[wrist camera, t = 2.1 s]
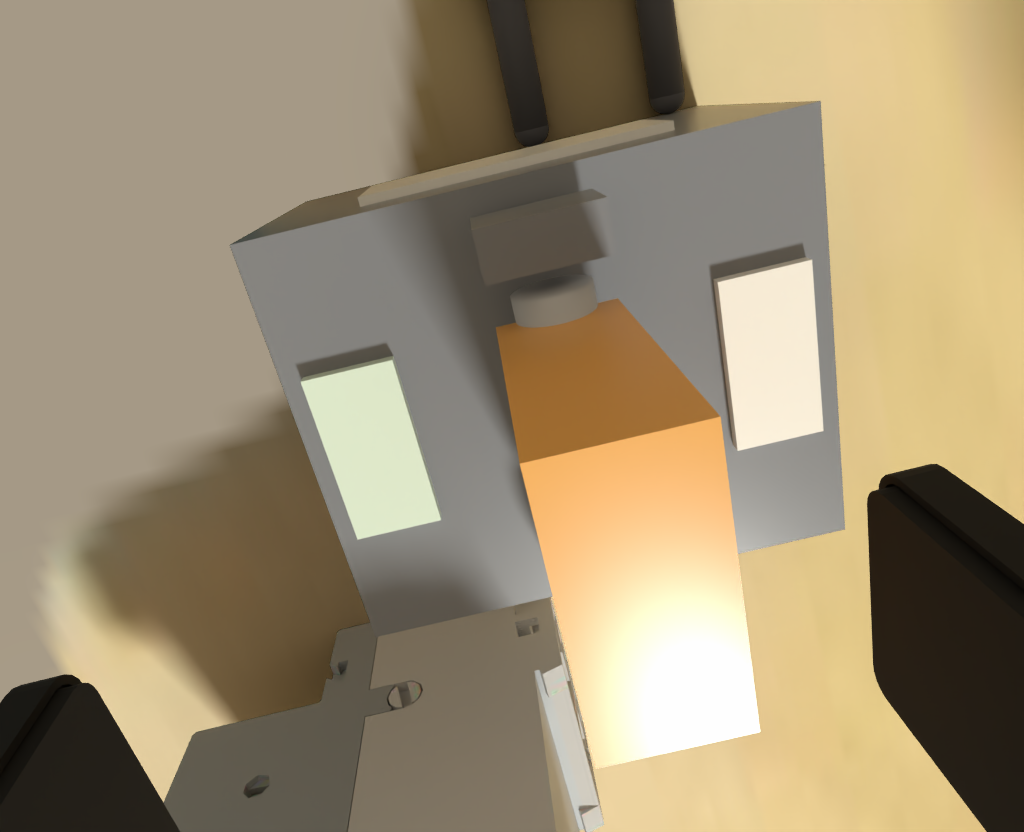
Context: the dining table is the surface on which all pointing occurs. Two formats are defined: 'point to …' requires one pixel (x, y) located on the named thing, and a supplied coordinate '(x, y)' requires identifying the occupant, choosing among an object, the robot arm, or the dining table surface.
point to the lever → (629, 524)
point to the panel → (486, 305)
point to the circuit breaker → (409, 740)
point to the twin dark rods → (524, 75)
